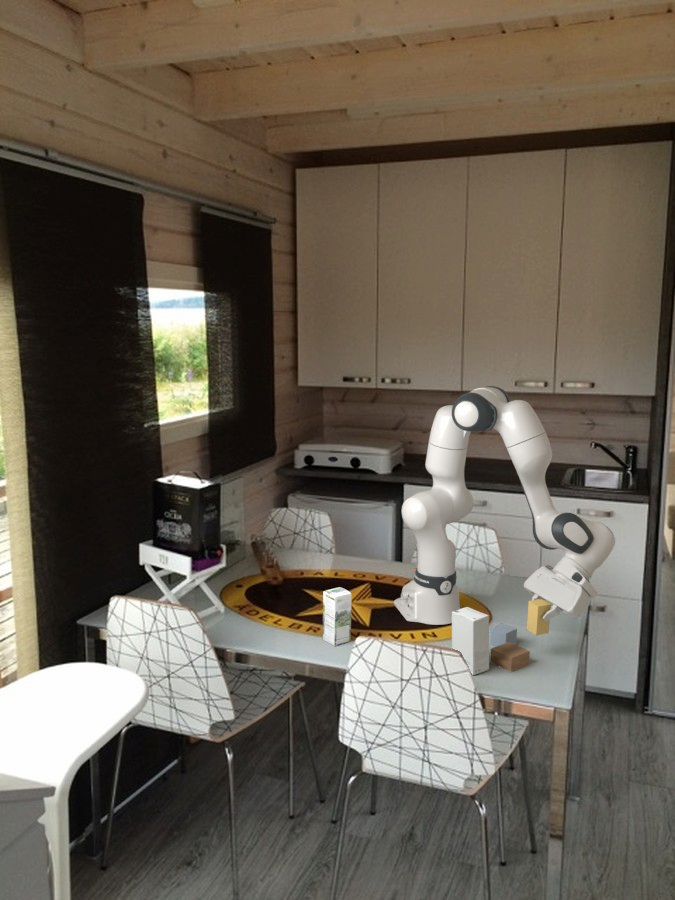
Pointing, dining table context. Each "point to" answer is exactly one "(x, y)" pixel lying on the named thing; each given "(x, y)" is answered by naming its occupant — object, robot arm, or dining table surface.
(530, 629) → the ochre post
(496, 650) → the walnut block
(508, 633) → the slate cube
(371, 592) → the dining table surface
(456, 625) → the skincare box
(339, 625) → the syrup box
